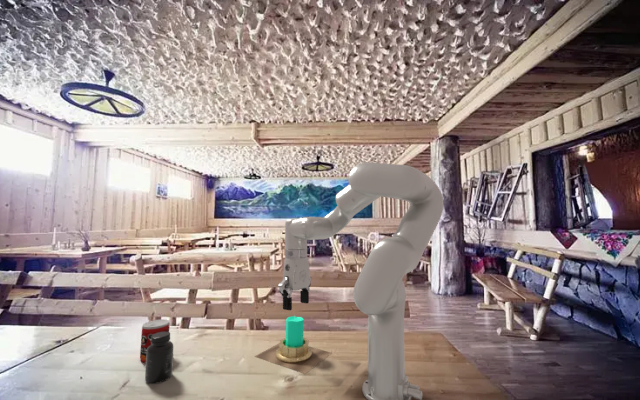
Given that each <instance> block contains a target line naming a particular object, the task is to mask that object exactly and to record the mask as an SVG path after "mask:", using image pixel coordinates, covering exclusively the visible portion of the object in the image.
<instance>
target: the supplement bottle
mask: <svg viewBox="0 0 640 400" xmlns="http://www.w3.org/2000/svg"><path fill="white" fill-rule="evenodd" d="M173 363H174V343H173V342H172V341H171V331H169V332H159V333H156V334H153V335H152V336H151V345H150V346H149V347H148V348H147V352H146V362H145V371H144V372H145V373H144V381H145V382H146V383H148V384H154V385H155V384H159V383H163V382H165V381H166V380H168V379H170V378H171V376H172V374H173V365H174V364H173Z"/></svg>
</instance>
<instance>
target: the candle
mask: <svg viewBox="0 0 640 400" xmlns="http://www.w3.org/2000/svg"><path fill="white" fill-rule="evenodd" d="M304 321H305V319H304V318H303V317H302V316H296V315H292V316H288V317H287V318H286V320H285V338H286V346H289V347H298V346H302V345H303V338H304Z"/></svg>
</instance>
